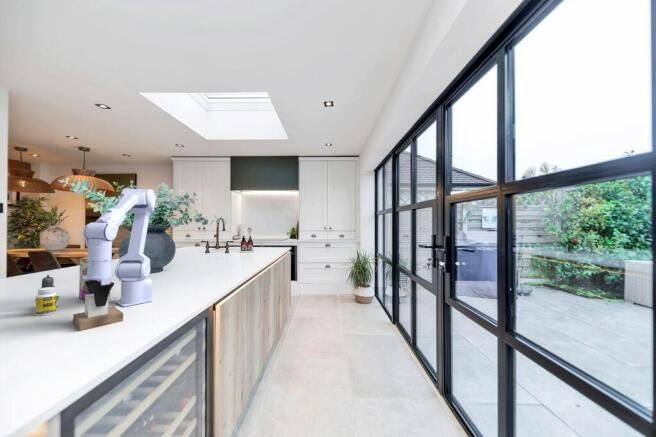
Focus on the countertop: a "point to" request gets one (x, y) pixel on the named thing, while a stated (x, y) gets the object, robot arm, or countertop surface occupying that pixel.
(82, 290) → the candy bar box
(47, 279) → the salt shaker
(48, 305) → the supplement bottle
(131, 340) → the countertop surface
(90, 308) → the white small block
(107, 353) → the countertop surface
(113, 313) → the walnut block
